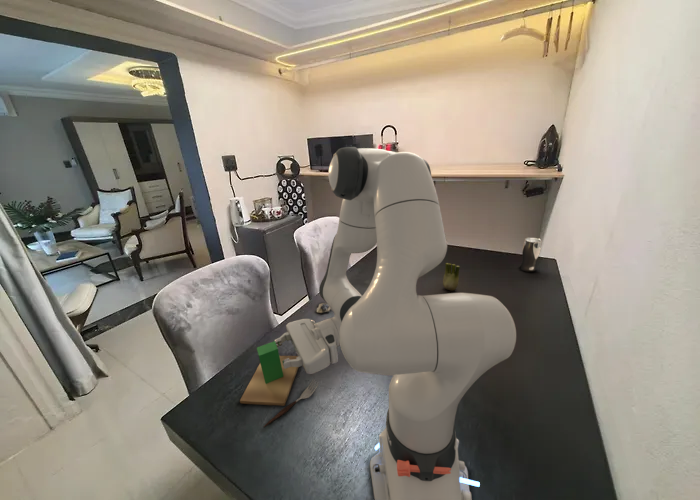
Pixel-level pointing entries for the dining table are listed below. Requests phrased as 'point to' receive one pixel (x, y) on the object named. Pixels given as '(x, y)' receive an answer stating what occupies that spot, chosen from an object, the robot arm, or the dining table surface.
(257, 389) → the board
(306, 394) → the fork
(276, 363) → the brick
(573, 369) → the dining table surface
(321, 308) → the tan grey flat shell
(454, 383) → the robot arm
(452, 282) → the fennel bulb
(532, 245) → the beer glass
